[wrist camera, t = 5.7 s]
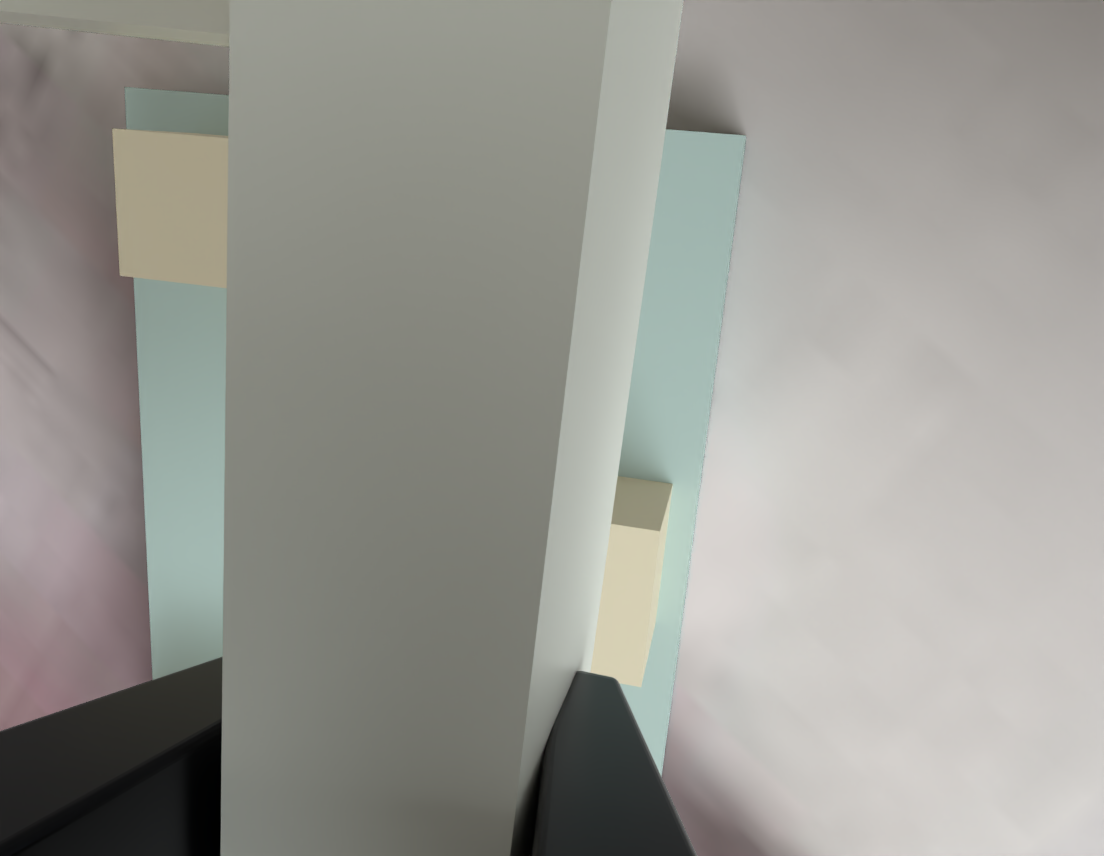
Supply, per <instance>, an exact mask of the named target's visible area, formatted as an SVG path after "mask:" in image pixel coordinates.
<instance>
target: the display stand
mask: <svg viewBox="0 0 1104 856" xmlns="http://www.w3.org/2000/svg"><path fill="white" fill-rule="evenodd" d="M125 108H126V129H114V128H112V135H113V154H114V173H115V193H116V212H117V231H118V251H119V270H120V276H126V277H134V297H135V319H136V340H137V361H138V382H139V403H140V424H141V445H142V466H143V487H144V508H145V529H146V550H147V571H148V592H149V613H150V634H151V655H152V676H153V680H154V679H157V678H160V677H163V676H166V675H169V674H172V673H175V672H178V671H181V670H184V669H187V668H190V667H193V666H196V665H199V664H202V663H205V662H207V661H210V660H213V659H216V658H219V657H222V656H223V572H224V481H225V391H226V301H227V211H228V121H229V95H221V94H208V93H195V92H182V91H170V90H157V89H144V88H131V87H125ZM745 144H746V136H745V135H734V134H721V133H708V132H695V131H682V130H670V129H666V132H665V139H664V146H663V153H662V161H661V168H660V175H659V182H658V189H657V197H656V204H655V211H654V218H653V225H652V233H651V240H650V247H649V254H648V261H647V269H646V276H645V283H644V290H643V297H642V304H641V312H640V319H639V326H638V333H637V340H636V348H635V355H634V362H633V369H632V376H631V384H630V391H629V398H628V405H627V412H626V420H625V427H624V434H623V441H622V448H621V456H620V463H619V470H618V477H617V484H616V492H615V499H614V506H613V513H612V520H611V528H610V535H609V542H608V549H607V556H606V564H605V571H604V578H603V585H602V592H601V600H600V607H599V614H598V621H597V628H596V636H595V643H594V650H593V657H592V664H591V671H590V673H595V674H600V675H605V676H609V677H613V678H615V679H616V680H617V681H618V682H619V684H620V686H621V688H622V690H623V693H624V695H625V697H626V699H627V702H628V704H629V706H630V708H631V710H632V713H633V715H634V717H635V719H636V721H637V724H638V726H639V728H640V730H641V733H642V735H643V737H644V739H645V741H646V744H647V746H648V748H649V750H650V753H651V755H652V757H653V759H654V761H655V764H656V766H657V768H658V770H659V773H660V775H661V777H662V770H663V762H664V755H665V747H666V739H667V732H668V724H669V717H670V709H671V702H672V694H673V687H674V679H675V672H676V664H677V657H678V649H679V642H680V634H681V627H682V619H683V611H684V604H685V596H686V589H687V581H688V574H689V566H690V559H691V551H692V544H693V536H694V529H695V521H696V514H697V506H698V498H699V491H700V483H701V476H702V468H703V461H704V453H705V446H706V438H707V431H708V423H709V416H710V408H711V401H712V393H713V385H714V378H715V370H716V363H717V355H718V348H719V340H720V333H721V325H722V318H723V310H724V303H725V295H726V288H727V280H728V273H729V265H730V257H731V250H732V242H733V235H734V227H735V220H736V212H737V205H738V197H739V190H740V182H741V175H742V167H743V160H744V152H745Z"/></svg>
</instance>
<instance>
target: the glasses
mask: <svg viewBox="0 0 1104 856" xmlns="http://www.w3.org/2000/svg"><path fill="white" fill-rule="evenodd" d="M683 2H684V0H0V23H5V24H15V25H24V26H34V27H43V28H53V29H62V30H72V31H81V32H91V33H101V34H110V35H120V36H129V37H139V38H148V39H158V40H167V41H177V42H187V43H196V44H206V45H215V46H225V47H229V121H228V211H227V301H226V391H225V481H224V572H223V662H222V752H221V842H220V856H531V851H532V843H533V835H534V827H535V819H536V811H537V803H538V795H539V787H540V779H541V771H542V763H543V756H544V750H545V746H546V743H547V740H548V737H549V735H550V732H551V730H552V727H553V725H554V722H555V720H556V718H557V715H558V713H559V711H560V708H561V706H562V704H563V702H564V699H565V697H566V695H567V692H568V690H569V688H570V685H571V683H572V681H573V679H574V676H575V674H576V672H577V671H585V672H590V671H591V664H592V657H593V650H594V643H595V636H596V628H597V621H598V614H599V607H600V600H601V592H602V585H603V578H604V571H605V564H606V556H607V549H608V542H609V535H610V528H611V520H612V513H613V506H614V499H615V492H616V484H617V477H618V470H619V463H620V456H621V448H622V441H623V434H624V427H625V420H626V412H627V405H628V398H629V391H630V384H631V376H632V369H633V362H634V355H635V348H636V340H637V333H638V326H639V319H640V312H641V304H642V297H643V290H644V283H645V276H646V269H647V261H648V254H649V247H650V240H651V233H652V225H653V218H654V211H655V204H656V197H657V189H658V182H659V175H660V168H661V161H662V153H663V146H664V139H665V132H666V125H667V117H668V110H669V103H670V96H671V89H672V81H673V74H674V67H675V60H676V53H677V45H678V38H679V31H680V24H681V17H682V9H683Z"/></svg>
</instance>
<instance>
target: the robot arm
mask: <svg viewBox="0 0 1104 856" xmlns="http://www.w3.org/2000/svg"><path fill="white" fill-rule="evenodd" d="M222 662H223V656H222V657H219V658H216V659H213V660H210V661H207V662H205V663H202V664H199V665H196V666H193V667H190V668H187V669H184V670H181V671H178V672H175V673H172V674H169V675H166V676H163V677H160V678H157V679H154V680H151V681H148V682H145V683H142V684H139V685H136V686H133V687H130V688H127V689H124V690H121V691H118V692H115V693H112V694H109V695H106V696H103V697H100V698H98V699H95V700H92V701H89V702H86V703H83V704H80V705H77V706H74V707H71V708H68V709H65V710H62V711H59V712H56V713H53V714H50V715H47V716H44V717H41V718H38V719H35V720H32V721H29V722H26V723H23V724H20V725H17V726H14V727H11V728H8V729H5V730H2V731H0V856H220V842H221V752H222ZM531 856H697V855H696V852H695V850H694V848H693V846H692V843H691V841H690V839H689V837H688V835H687V832H686V830H685V828H684V826H683V824H682V821H681V819H680V817H679V815H678V812H677V810H676V808H675V806H674V804H673V801H672V799H671V797H670V795H669V792H668V790H667V788H666V786H665V784H664V781H663V779H662V777H661V775H660V773H659V770H658V768H657V766H656V764H655V761H654V759H653V757H652V755H651V753H650V750H649V748H648V746H647V744H646V741H645V739H644V737H643V735H642V733H641V730H640V728H639V726H638V724H637V721H636V719H635V717H634V715H633V713H632V710H631V708H630V706H629V704H628V702H627V699H626V697H625V695H624V693H623V690H622V688H621V686H620V684H619V682H618V681H617V680H616V679H615V678H613V677H609V676H605V675H600V674H595V673H590V672H585V671H577V672H576V674H575V676H574V679H573V681H572V683H571V685H570V688H569V690H568V692H567V695H566V697H565V699H564V702H563V704H562V706H561V708H560V711H559V713H558V715H557V718H556V720H555V722H554V725H553V727H552V730H551V732H550V735H549V737H548V740H547V743H546V746H545V750H544V756H543V763H542V771H541V779H540V787H539V795H538V803H537V811H536V819H535V827H534V835H533V843H532V851H531Z"/></svg>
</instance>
